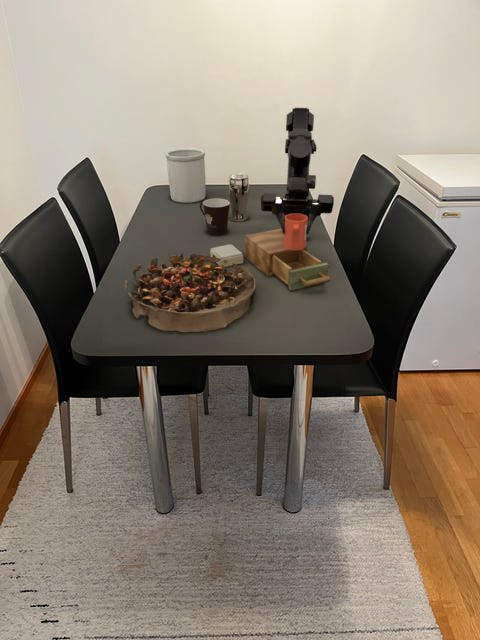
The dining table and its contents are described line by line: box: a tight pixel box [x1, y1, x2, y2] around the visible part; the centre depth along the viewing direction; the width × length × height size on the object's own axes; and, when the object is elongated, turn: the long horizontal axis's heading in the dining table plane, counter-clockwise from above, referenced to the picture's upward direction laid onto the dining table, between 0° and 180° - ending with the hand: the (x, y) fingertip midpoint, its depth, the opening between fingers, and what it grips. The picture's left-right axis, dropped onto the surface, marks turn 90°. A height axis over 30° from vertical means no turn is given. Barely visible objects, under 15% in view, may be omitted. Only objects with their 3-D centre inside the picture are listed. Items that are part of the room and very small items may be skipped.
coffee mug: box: [199, 198, 231, 237], centre depth 165 cm, size 12×9×10 cm
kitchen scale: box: [209, 243, 244, 268], centre depth 147 cm, size 7×8×3 cm
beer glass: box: [228, 172, 250, 222], centre depth 174 cm, size 7×7×15 cm
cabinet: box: [244, 228, 308, 277], centre depth 145 cm, size 14×12×7 cm
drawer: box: [270, 249, 331, 291], centre depth 134 cm, size 18×11×5 cm, turn 26°
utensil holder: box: [165, 147, 207, 204], centre depth 193 cm, size 15×15×18 cm
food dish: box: [124, 252, 257, 333], centre depth 128 cm, size 35×33×8 cm
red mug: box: [284, 213, 308, 250], centre depth 130 cm, size 8×6×8 cm
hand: (295, 233), depth 130 cm, fingers closed on red mug, 6 cm apart
